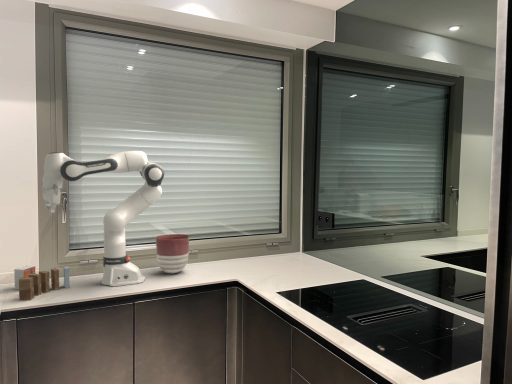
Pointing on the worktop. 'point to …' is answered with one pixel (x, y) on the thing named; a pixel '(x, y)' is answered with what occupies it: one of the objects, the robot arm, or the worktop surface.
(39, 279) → the domino
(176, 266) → the planter
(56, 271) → the domino
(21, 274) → the small box
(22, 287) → the domino
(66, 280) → the domino
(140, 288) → the worktop surface
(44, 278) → the domino
